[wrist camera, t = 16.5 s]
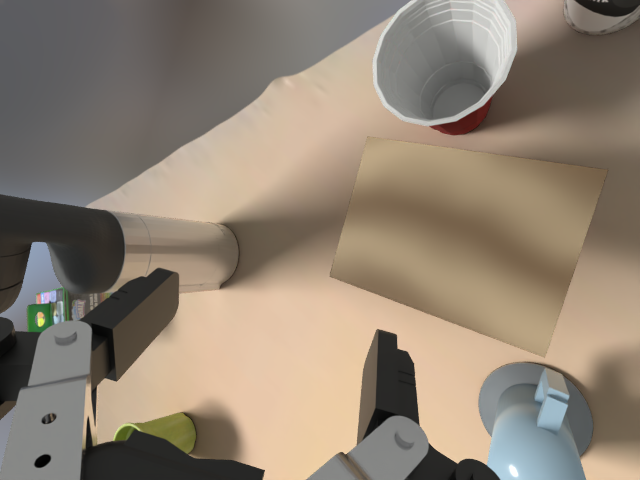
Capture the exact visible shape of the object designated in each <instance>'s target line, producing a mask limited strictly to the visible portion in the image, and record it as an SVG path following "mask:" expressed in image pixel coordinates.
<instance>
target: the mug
mask: <svg viewBox="0 0 640 480" xmlns="http://www.w3.org/2000/svg"><path fill="white" fill-rule="evenodd" d="M563 11H564V17H565V20H566V21H567V23H568V24H569V25H570V27H571V28H573V29H574V30H576V31H578V32H580V33H583V34H587V35H603V34H609V33H613V32H616V31H619V30H621V29H623V28H625V27H627V26H629V25H631V24H632V23H634V22H635V21H636V20H638V19H639V18H640V0H565V1H564V9H563Z"/></svg>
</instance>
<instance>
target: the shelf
mask: <svg viewBox="0 0 640 480" xmlns="http://www.w3.org/2000/svg"><path fill="white" fill-rule="evenodd" d="M607 172H608V170H606V169H599V168H592V167H584V166H577V165H570V164H563V163H556V162H548V161H541V160H534V159H527V158H520V157H512V156H505V155H498V154H491V153H484V152H476V151H469V150H462V149H455V148H448V147H440V146H433V145H426V144H419V143H412V142H404V141H397V140H390V139H383V138H376V137H367V140H366V144H365V148H364V151H363V155H362V159H361V162H360V166H359V170H358V173H357V177H356V181H355V184H354V188H353V192H352V195H351V199H350V203H349V206H348V210H347V214H346V217H345V221H344V225H343V228H342V232H341V236H340V239H339V243H338V247H337V250H336V254H335V258H334V261H333V265H332V269H331V272H330V277H332V278H335V279H338V280H340V281H343V282H346V283H348V284H351V285H353V286H356V287H359V288H361V289H364V290H367V291H369V292H372V293H375V294H377V295H380V296H383V297H385V298H388V299H391V300H393V301H396V302H399V303H401V304H404V305H406V306H409V307H412V308H414V309H417V310H420V311H422V312H425V313H428V314H430V315H433V316H436V317H438V318H441V319H444V320H446V321H449V322H451V323H454V324H457V325H459V326H462V327H465V328H467V329H470V330H473V331H475V332H478V333H481V334H483V335H486V336H489V337H491V338H494V339H497V340H499V341H502V342H504V343H507V344H510V345H512V346H515V347H518V348H520V349H523V350H526V351H528V352H531V353H534V354H536V355H539V356H542V357H544V358H545V356H546V353H547V350H548V347H549V344H550V341H551V338H552V335H553V332H554V329H555V326H556V323H557V320H558V317H559V314H560V312H561V309H562V306H563V303H564V300H565V297H566V294H567V291H568V288H569V285H570V282H571V279H572V276H573V273H574V270H575V267H576V264H577V261H578V258H579V255H580V252H581V249H582V246H583V243H584V240H585V237H586V234H587V231H588V229H589V226H590V223H591V220H592V217H593V214H594V211H595V208H596V205H597V202H598V199H599V196H600V193H601V190H602V187H603V184H604V181H605V178H606V175H607Z"/></svg>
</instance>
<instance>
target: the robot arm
mask: <svg viewBox="0 0 640 480" xmlns="http://www.w3.org/2000/svg"><path fill="white" fill-rule="evenodd" d="M32 242H46V243H47V246H48V248H49V252H50V256H51V261H52V265H53V269H54V272H55V275H56V277H57V279H58V281H59V282H60V284H61V285H62V286H63V287H64V288H65V289H66V290H67V291H69V292H71V293H74V294H80V295H81V294H98V293H110V292H114V293H113V294H111V295H110V297H109V298H106V299H105V300H104V301H103V302H101V303H100V304H99V305H98V306H96V307H95V308H94V309H93V310H91V311H90V312H89V313H88V314H86V315H85V316H84V317H82V318H81V319H80V320H79V321H64V322H60V323H57V324H54V325H52V326H50V327H49V328H47V329H46V330H44V331H43V332H17V331H15V329H14V325H13V323H12V321H11V320H9V319H7V318H3V317H0V420H1V419H2V418H3V417H4V416H5V415H6V414H7V413H8V412H9V411H10V410H11V409H12V408H13V407H14V406H15V405H16V407H15V412H14V416H13V420H12V424H11V429H10V433H9V437H8V441H7V446H6V450H5V454H4V458H3V462H2V467H1V471H0V480H263V477H264V472H265V470H262V469H259V468H256V467H253V466H249V465H246V464H243V463H240V462H237V461H234V460H215V459H195V458H193V457H191V456H190V455H188V454H187V453H185V452H184V451H182V450H181V449H179V448H178V447H176V446H175V445H174V444H172V443H171V442H169V441H168V440H166V439H163V438H160V437H157V436H154V435H151V434H148V433H144V432H141V431H138V430H135V429H134V431H133V432H132V434H131V435H130V436H129V438H128V439H127V440H118V441H111V442H105V443H102V444H98V445H97V421H98V384H99V383H100V382H101V381H102V380H103V379H104V378H107V379H110V380H113V381H116V382H117V381H118V380H119V379H120V378H121V376H122V375H123V374H124V373H125V372H126V371H127V370H128V368H129V367H130V366H131V365H132V364H133V363H134V362H135V361H136V359H137V358H138V357H139V356H140V355H141V354H142V353H143V352H144V350H145V349H146V348H147V347H148V346H149V345H150V344H151V343H152V341H153V340H154V339H155V338H156V337H157V336H158V335H159V333H160V332H161V331H162V330H163V329H164V328H165V327H166V326H167V324H168V323H169V322H170V321H171V320H172V319H173V317H174V316H175V314H176V311H177V309H178V304H179V293H190V292H200V291H211V290H219V288H220V286H221V284H222V283H224V282H225V281H227V280H228V279H229V278H230V277H231V276H232V274H233V273H234V271H235V269H236V266H237V263H238V257H239V250H238V244H237V240H236V238H235V236H234V234H233V233H232V231H231V230H230V229H229V228H228V227H226V226H224V225H221V224H215V223H209V222H199V221H191V220H182V219H174V218H166V217H158V216H149V215H141V214H133V213H124V212H116V211H108V210H99V209H91V208H84V207H78V206H72V205H66V204H58V203H51V202H43V201H37V200H30V199H24V198H18V197H12V196H6V195H1V194H0V313H2V312H4V311H6V310H7V309H8V308H9V307H11V306H12V305H13V304H14V302H15V301H16V299H17V297H18V295H19V293H20V290H21V288H22V284H23V279H24V275H25V271H26V267H27V262H28V258H29V254H30V249H31V245H32ZM415 386H416V382H415V371H414V363H413V361H412V359H411V357H410V356H409V354H408V352H407V351H403V350H399V349H397V335H396V334H393V333H390V332H386V331H383V330H379V329H377V330H376V333H375V335H374V338H373V341H372V344H371V346H370V349H369V352H368V355H367V358H366V361H365V365H364V369H363V377H362V389H361V400H360V412H359V424H358V436H357V446H356V447H355V448H353V449H352V450H351V451H350V452H349V453H347V454H344V453H343V452H340V453H338V454H336V455H335V456H334V457H332V458H331V459H330V460H329V461H328V462H327V463H325V464H324V465H323V466H322V467H321V468H319V469H318V470H317V471H316V472H315V473H314V474H312V475H311V476H310V477H309V478H308V479H306V480H500V478H499V477H498V476H497V474H496V473H495V472H494V471H493V470H492V469H491V468H489V467H488V466H487V465H485V464H484V463H482V462H480V461H477V460H474V459H464V460H462V461H460V462H459V463H458V464H457V463H456V462H454V461H452V460H451V459H449V458H448V457H446V456H444V455H443V454H441V453H440V452H438V451H437V450H436V449H434V448H433V447H432V446H431V445H430V444H429V443H428V439H427V437H426V434H425V433H424V431H423V430H422V428H421V427H420V425H419V416H418V404H417V393H416V387H415Z"/></svg>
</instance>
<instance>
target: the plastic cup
mask: <svg viewBox="0 0 640 480" xmlns="http://www.w3.org/2000/svg"><path fill="white" fill-rule="evenodd" d="M516 52H517V33H516V20H515V18H514V16H513V15H512V13H511V11H510V10H509V8H508V6H507V5H506V3H505V1H504V0H412V1H410V2H409V3H408V4H406V5H405V6H404V7H403V8H401V9H400V10H398V11H397V13H396V14H395V16H394V17H393V18H392V20H391V21H390V23H389V24H388V25H387V27H386V28H385V30H384V31H383V32H382V34H381V36H380V39H379V42H378V45H377V48H376V51H375V55H374V58H373V82H374V87H375V89H376V91H377V93H378V95H379V98H380V100H381V102H382V104H383V106H384V107H385V108H386V109H388V110H389V111H390V112H392V113H393V114H394V115H395V116H397V117H398V118H399V119H401V120H402V121H405V122H410V123H414V124H419V125H423V126H429V127H431V128H433V129H435V130H438V131H440V132H442V133H445V134H450V135H459V134H465V133H467V132H469V131H471V130H473V129H474V128H476V127H477V126H478V125H479V124H480V123H481V122H482V121H483V119H484V118H485V117H486V115H487V112H488V110H489V107H490V104H491V100H492V98H493V95H494V93H495V92H496V91H497V89H498V88H499V87H500V86H501V85H502V84H503V83H504V81H505V80H506V78H507V75H508V73H509V70H510V67H511V65H512V62H513V60H514V57H515V54H516Z"/></svg>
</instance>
